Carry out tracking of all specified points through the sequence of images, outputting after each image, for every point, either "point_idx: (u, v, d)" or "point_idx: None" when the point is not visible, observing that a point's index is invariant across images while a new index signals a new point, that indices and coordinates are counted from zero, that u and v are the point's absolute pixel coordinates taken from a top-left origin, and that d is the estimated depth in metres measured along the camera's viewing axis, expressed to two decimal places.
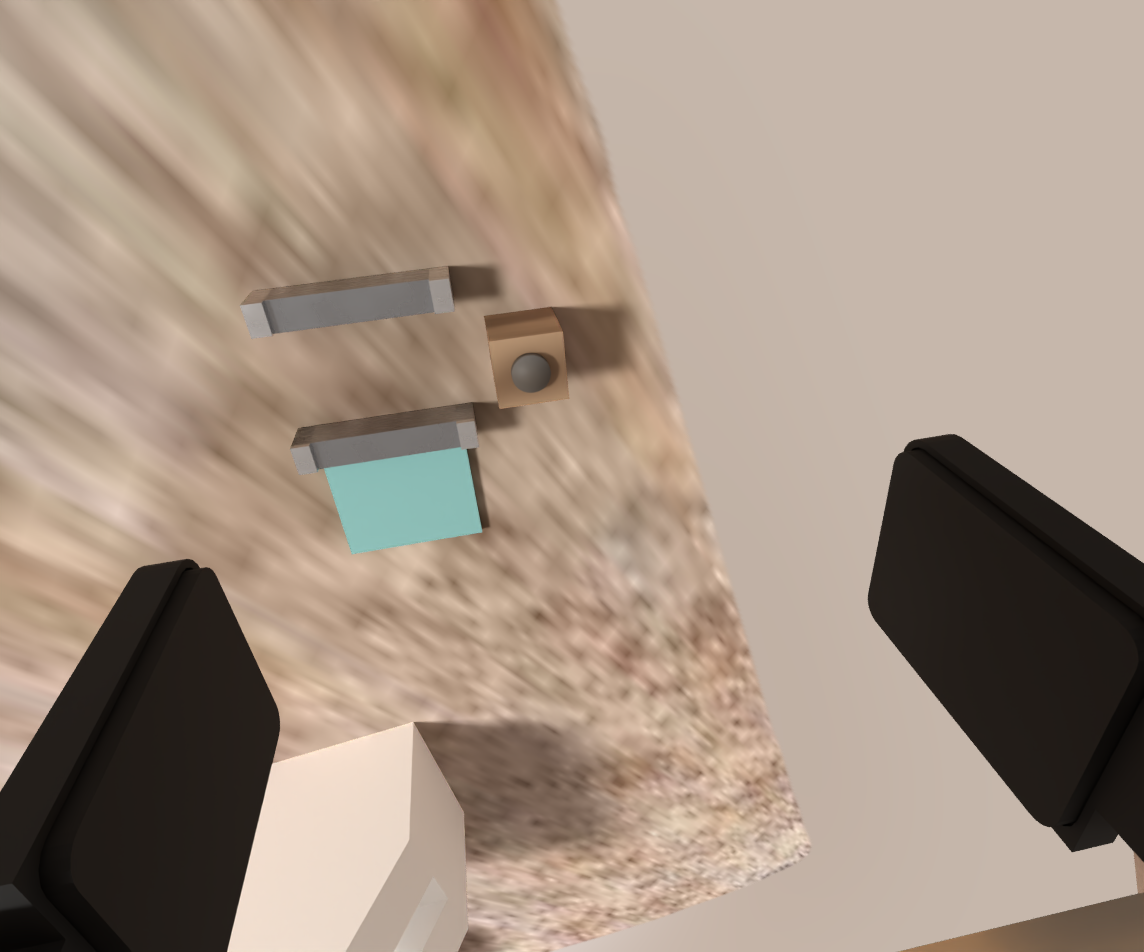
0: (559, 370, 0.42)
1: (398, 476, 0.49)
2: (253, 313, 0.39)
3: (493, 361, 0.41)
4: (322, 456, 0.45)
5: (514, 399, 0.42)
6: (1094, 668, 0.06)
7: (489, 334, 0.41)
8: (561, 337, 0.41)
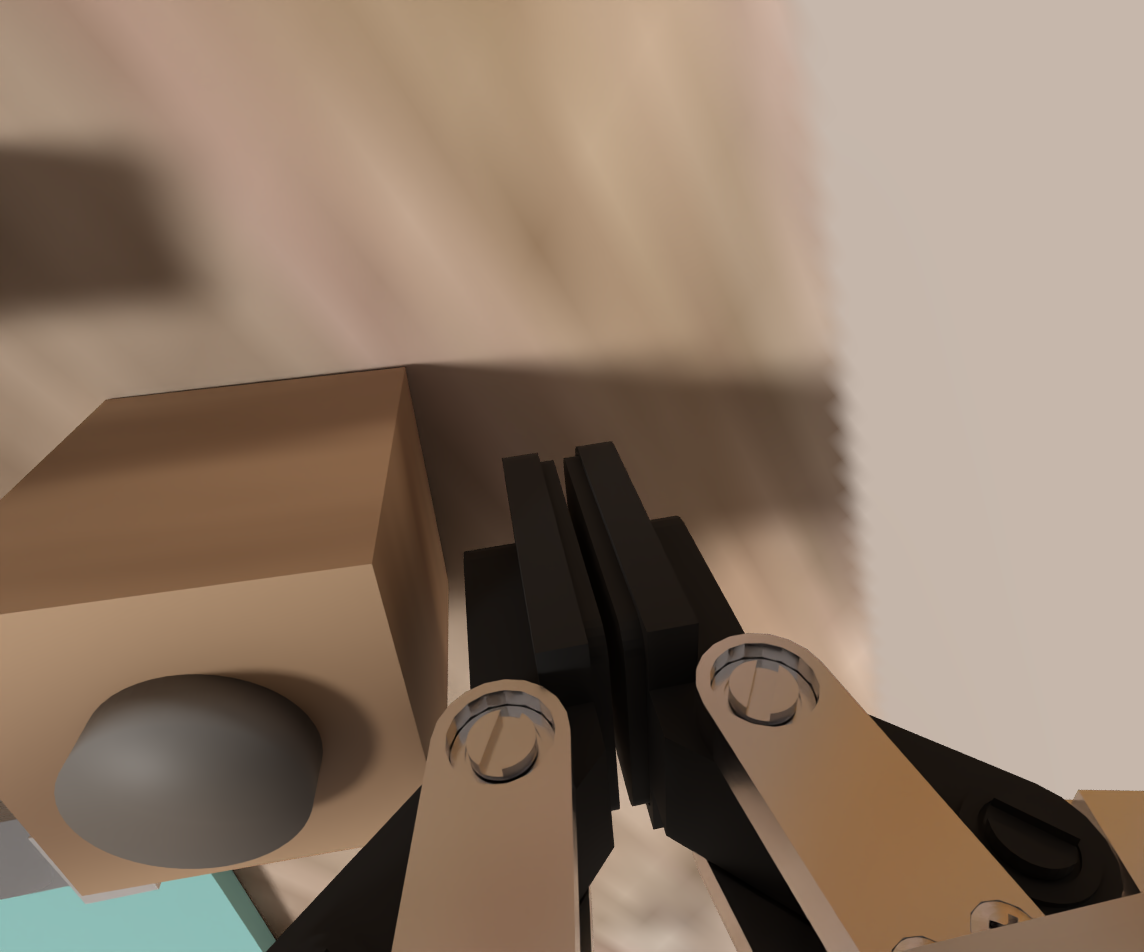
0: (379, 738, 0.08)
1: None
2: None
3: None
4: None
5: None
6: (618, 658, 0.07)
7: None
8: (367, 595, 0.07)
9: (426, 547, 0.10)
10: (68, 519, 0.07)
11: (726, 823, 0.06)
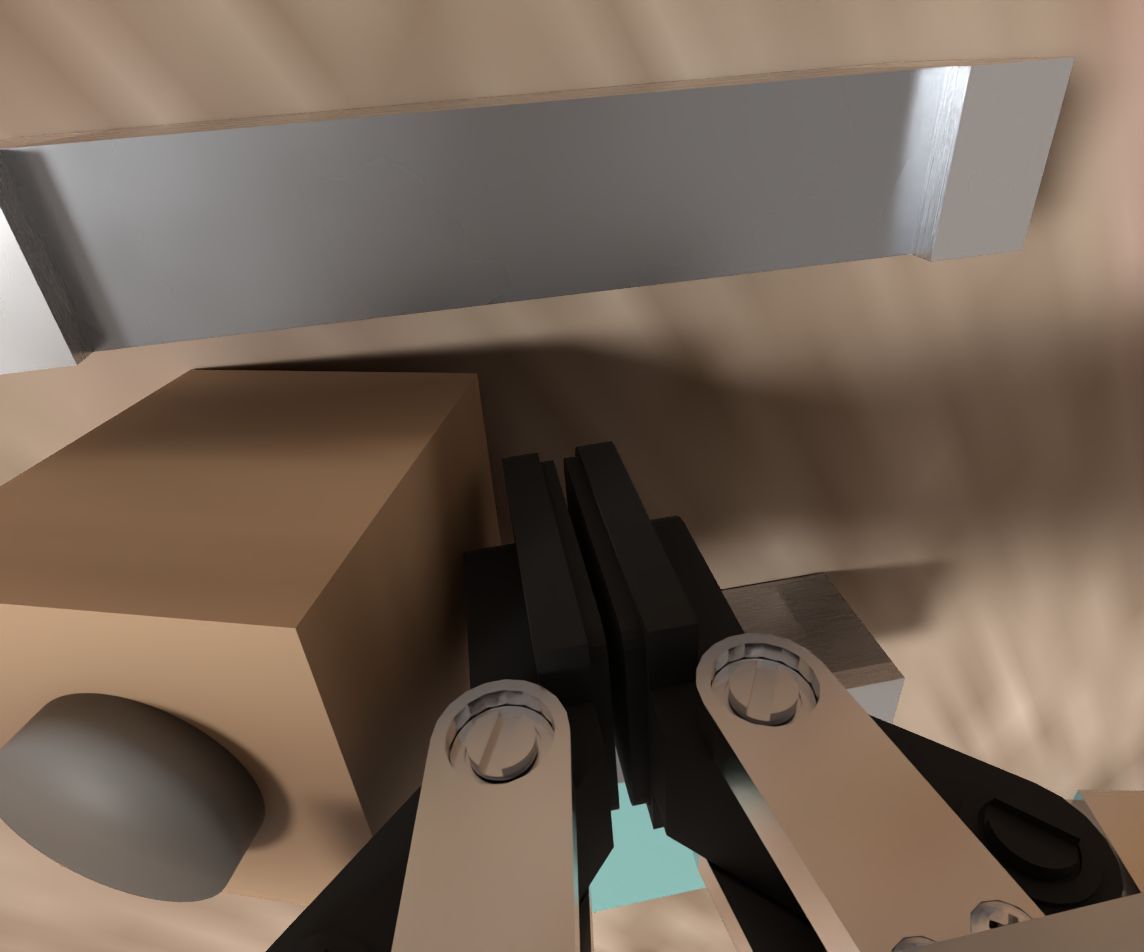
0: (323, 810, 0.07)
1: None
2: None
3: None
4: None
5: None
6: (618, 658, 0.07)
7: None
8: (294, 661, 0.05)
9: None
10: (70, 498, 0.07)
11: (728, 823, 0.06)
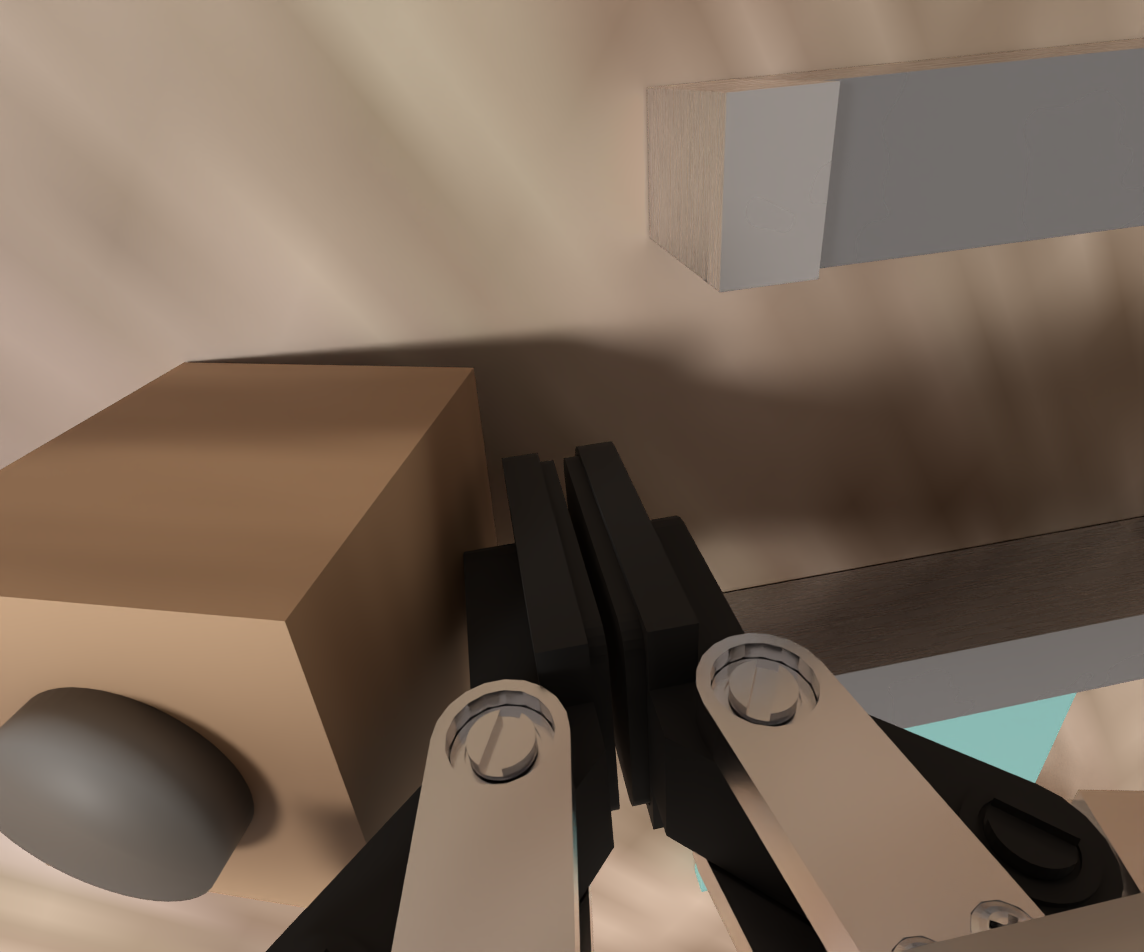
0: (313, 808, 0.06)
1: None
2: (777, 147, 0.07)
3: None
4: None
5: None
6: (618, 658, 0.07)
7: None
8: (284, 655, 0.05)
9: (460, 576, 0.09)
10: (58, 490, 0.07)
11: (726, 822, 0.06)
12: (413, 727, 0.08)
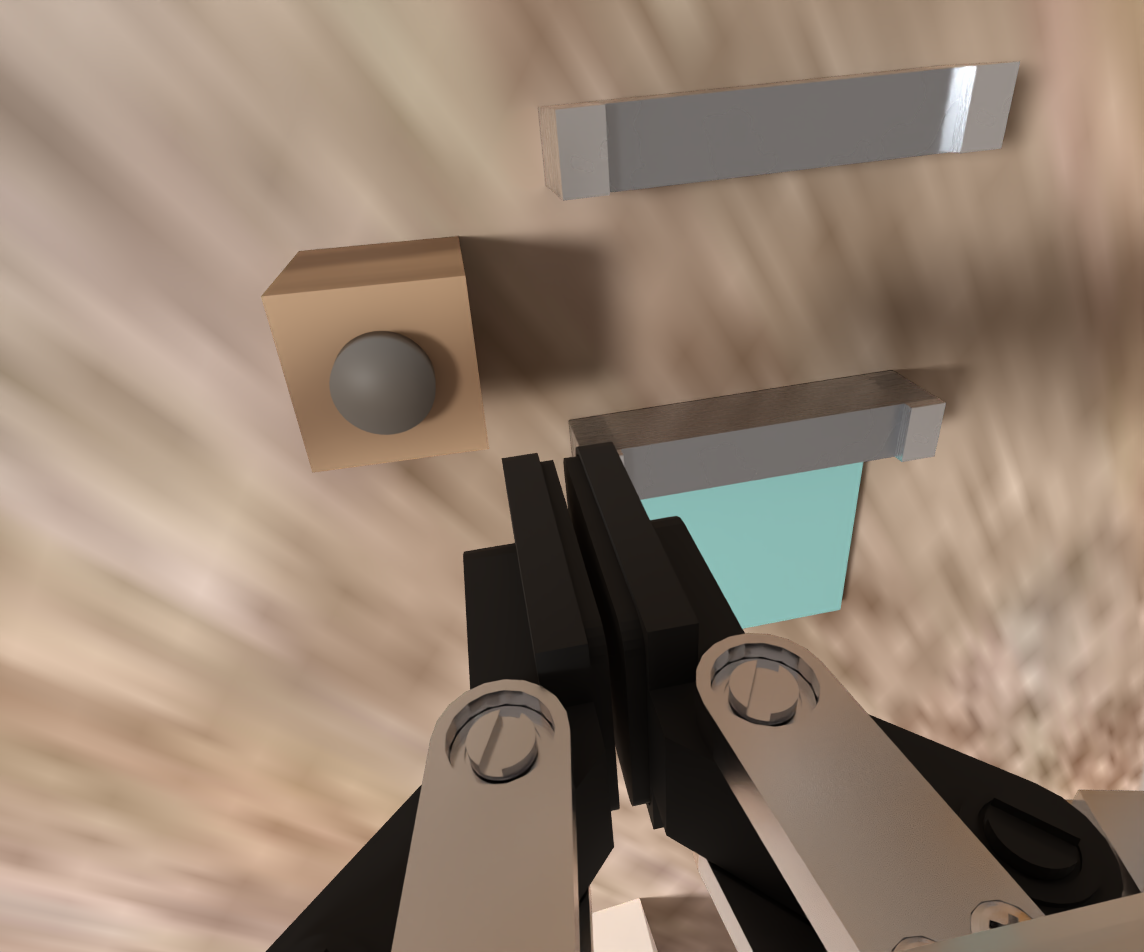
0: (461, 379, 0.17)
1: (733, 512, 0.26)
2: (581, 133, 0.16)
3: (281, 351, 0.16)
4: (637, 476, 0.22)
5: (349, 449, 0.17)
6: (618, 658, 0.07)
7: (277, 282, 0.16)
8: (462, 292, 0.16)
9: None
10: (319, 275, 0.16)
11: (727, 823, 0.06)
12: None
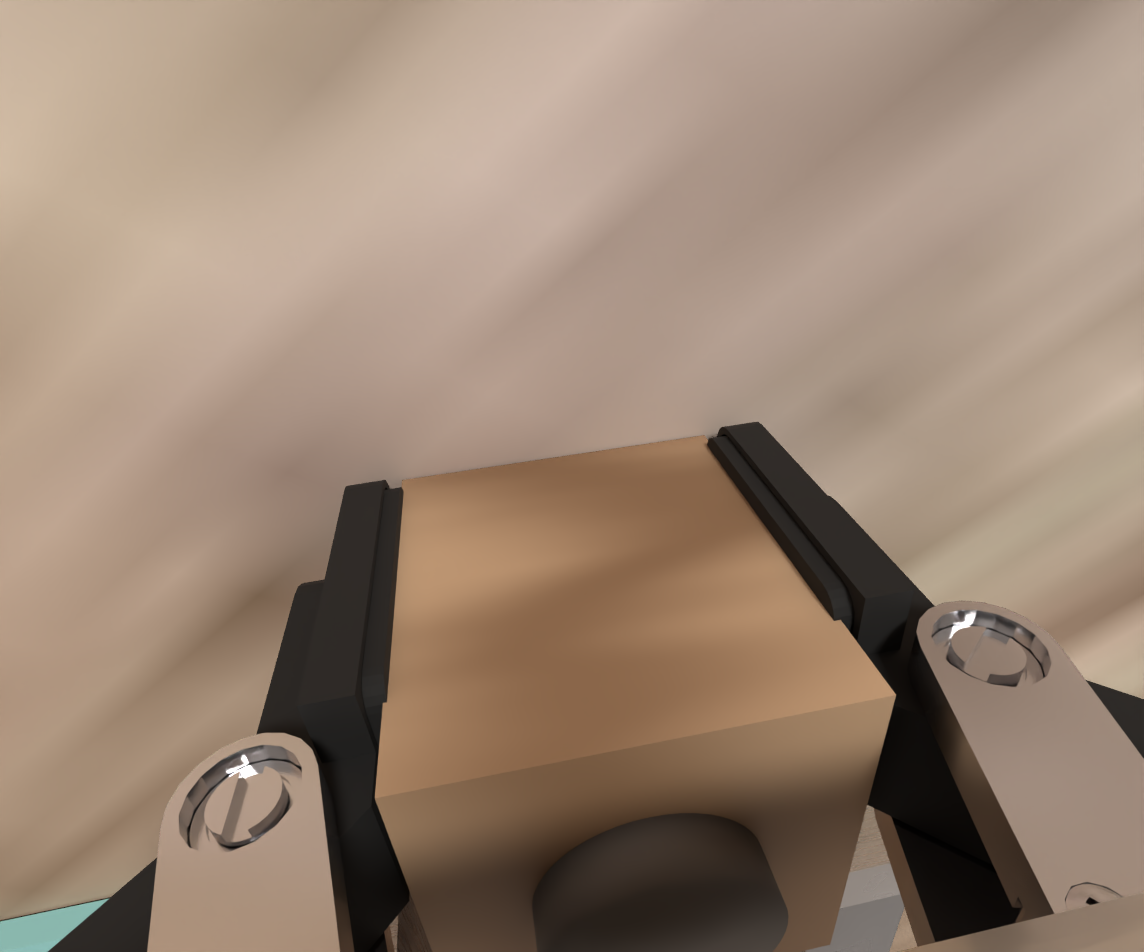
0: None
1: None
2: None
3: (754, 729, 0.06)
4: None
5: (457, 856, 0.06)
6: None
7: (825, 609, 0.07)
8: (802, 946, 0.08)
9: None
10: None
11: (942, 786, 0.06)
12: None
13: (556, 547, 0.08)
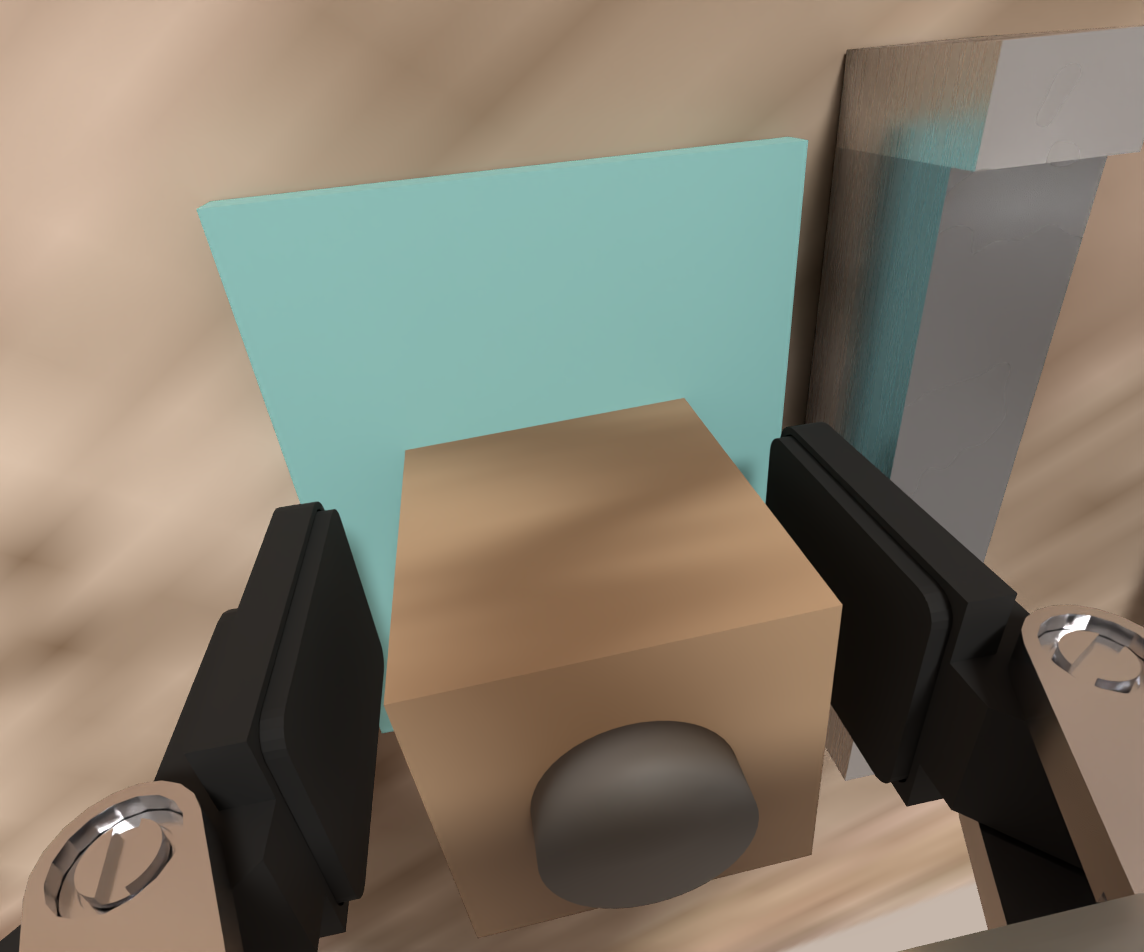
0: None
1: None
2: None
3: (716, 639, 0.07)
4: (1012, 205, 0.08)
5: (460, 761, 0.07)
6: (905, 632, 0.07)
7: None
8: (785, 856, 0.09)
9: None
10: None
11: (1047, 794, 0.06)
12: None
13: (545, 499, 0.09)
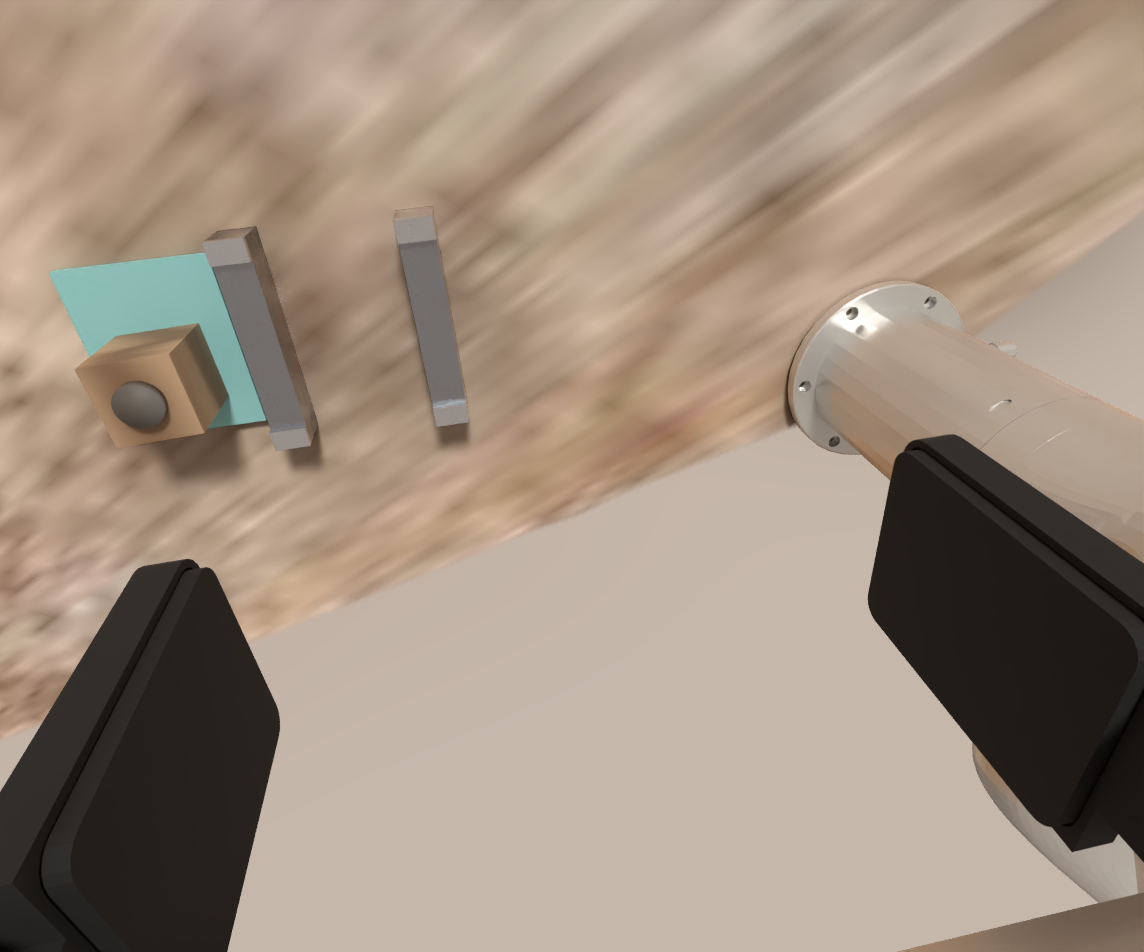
0: (152, 434, 0.35)
1: None
2: (423, 228, 0.35)
3: (142, 360, 0.34)
4: (233, 272, 0.35)
5: (95, 386, 0.34)
6: (1094, 668, 0.06)
7: (177, 347, 0.35)
8: (196, 432, 0.36)
9: None
10: (187, 362, 0.35)
11: None
12: None
13: (136, 343, 0.36)
